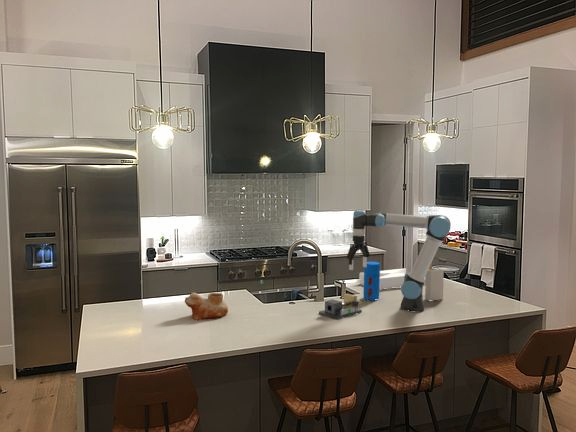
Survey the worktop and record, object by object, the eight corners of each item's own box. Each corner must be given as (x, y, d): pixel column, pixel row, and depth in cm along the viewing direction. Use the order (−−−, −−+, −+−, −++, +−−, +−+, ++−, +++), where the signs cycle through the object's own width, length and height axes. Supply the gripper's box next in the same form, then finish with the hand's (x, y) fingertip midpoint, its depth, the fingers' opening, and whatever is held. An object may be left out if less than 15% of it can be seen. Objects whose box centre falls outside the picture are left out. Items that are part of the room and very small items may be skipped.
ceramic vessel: (182, 315, 319) (182, 291, 318) (225, 311, 329) (225, 287, 327) (186, 321, 306) (186, 296, 305) (230, 317, 316) (230, 293, 314)
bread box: (405, 279, 427) (406, 268, 426) (424, 285, 407) (424, 273, 406) (359, 285, 407) (359, 272, 406) (376, 291, 387) (376, 278, 386)
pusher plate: (361, 309, 329) (361, 297, 328) (344, 314, 318) (344, 301, 318) (346, 305, 338) (347, 293, 337) (329, 310, 327) (329, 297, 326)
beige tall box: (442, 300, 364) (444, 264, 362) (429, 302, 359) (431, 265, 357) (435, 297, 371) (436, 262, 369) (422, 299, 366) (423, 263, 364)
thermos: (362, 300, 360) (363, 263, 358) (364, 296, 371) (365, 261, 368) (378, 301, 357) (379, 265, 355) (380, 297, 367) (381, 262, 365)
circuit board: (361, 312, 330) (362, 299, 329) (336, 319, 315) (337, 305, 314) (343, 307, 341) (344, 294, 340) (318, 313, 326) (319, 300, 325)
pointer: (358, 309, 326) (358, 301, 326) (356, 309, 325) (356, 302, 325) (354, 308, 329) (354, 300, 328) (352, 308, 328) (352, 300, 327)
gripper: (366, 232, 345) (365, 264, 347) (341, 236, 327) (340, 270, 329) (375, 234, 339) (374, 266, 341) (350, 237, 322) (350, 271, 324)
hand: (358, 268), depth 335 cm, fingers open, 13 cm apart
